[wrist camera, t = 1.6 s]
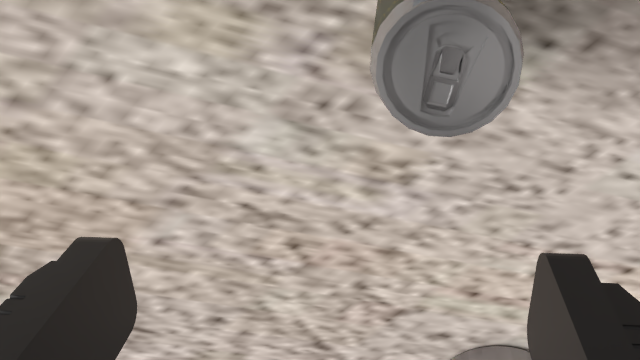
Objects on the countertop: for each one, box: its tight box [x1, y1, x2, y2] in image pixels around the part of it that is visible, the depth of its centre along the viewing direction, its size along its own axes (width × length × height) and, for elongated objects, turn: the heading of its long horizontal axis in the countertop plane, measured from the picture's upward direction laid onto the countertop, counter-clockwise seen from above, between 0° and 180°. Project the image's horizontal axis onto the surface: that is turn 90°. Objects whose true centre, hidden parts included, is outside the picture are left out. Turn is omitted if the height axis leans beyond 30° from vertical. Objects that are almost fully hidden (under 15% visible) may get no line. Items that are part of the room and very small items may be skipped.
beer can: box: [370, 0, 524, 137], centre depth 25 cm, size 5×5×12 cm
